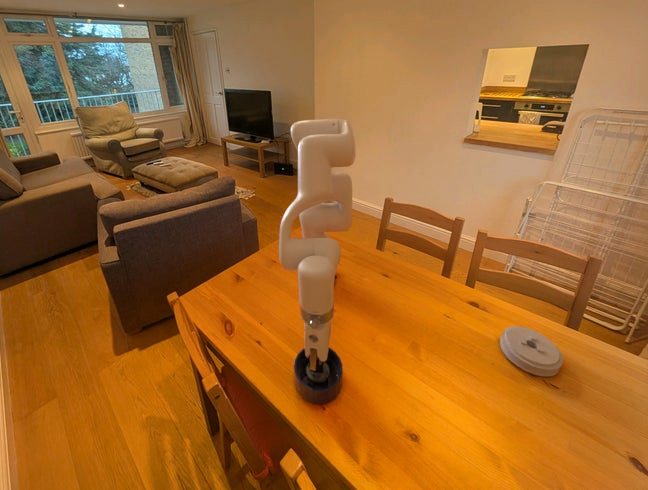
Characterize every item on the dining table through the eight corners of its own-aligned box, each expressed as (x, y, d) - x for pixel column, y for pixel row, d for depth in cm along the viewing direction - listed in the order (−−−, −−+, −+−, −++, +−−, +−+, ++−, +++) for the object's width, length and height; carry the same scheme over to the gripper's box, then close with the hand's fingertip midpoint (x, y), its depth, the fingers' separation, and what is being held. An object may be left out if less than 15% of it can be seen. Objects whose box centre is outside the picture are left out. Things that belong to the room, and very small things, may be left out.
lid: (556, 389, 70) (563, 376, 68) (494, 357, 78) (498, 345, 76) (560, 352, 79) (566, 339, 77) (503, 327, 87) (507, 315, 85)
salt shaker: (328, 393, 72) (328, 360, 67) (305, 389, 73) (303, 356, 68) (330, 370, 77) (330, 338, 72) (308, 366, 79) (306, 335, 74)
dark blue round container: (315, 351, 83) (314, 336, 81) (351, 379, 75) (352, 364, 73) (285, 382, 76) (284, 367, 73) (322, 418, 68) (322, 402, 65)
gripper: (328, 343, 57) (329, 401, 64) (337, 284, 71) (336, 337, 79) (291, 336, 59) (295, 393, 66) (307, 280, 73) (309, 332, 81)
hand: (318, 362), depth 73 cm, fingers closed on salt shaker, 3 cm apart
